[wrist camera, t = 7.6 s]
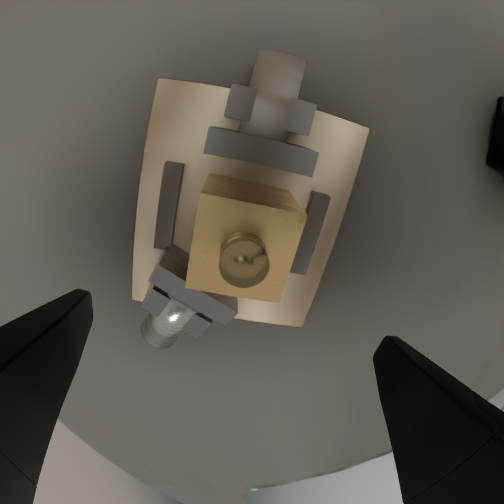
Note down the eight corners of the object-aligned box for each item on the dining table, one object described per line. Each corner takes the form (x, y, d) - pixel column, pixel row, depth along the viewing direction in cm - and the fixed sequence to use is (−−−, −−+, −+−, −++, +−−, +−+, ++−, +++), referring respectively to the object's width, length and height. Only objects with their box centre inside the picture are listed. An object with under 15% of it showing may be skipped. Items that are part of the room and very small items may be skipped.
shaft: (169, 241, 17) (158, 264, 14) (237, 284, 19) (238, 313, 16) (130, 302, 19) (117, 330, 16) (190, 337, 20) (186, 367, 18)
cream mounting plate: (370, 98, 15) (404, 96, 11) (299, 318, 21) (310, 356, 18) (170, 49, 13) (153, 30, 10) (135, 291, 20) (119, 327, 16)
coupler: (288, 190, 16) (314, 225, 11) (268, 260, 18) (282, 318, 13) (208, 173, 16) (197, 201, 10) (195, 247, 17) (181, 302, 12)
